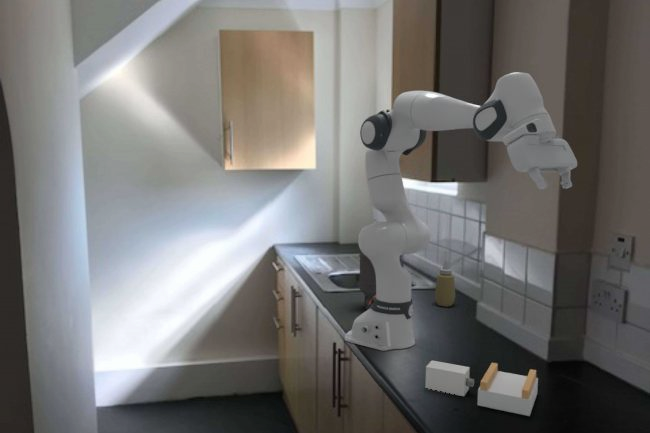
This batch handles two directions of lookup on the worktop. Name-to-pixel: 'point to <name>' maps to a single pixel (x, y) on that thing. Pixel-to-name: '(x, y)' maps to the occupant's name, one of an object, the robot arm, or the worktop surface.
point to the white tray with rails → (508, 391)
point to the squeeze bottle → (445, 286)
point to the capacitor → (367, 279)
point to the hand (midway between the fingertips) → (556, 187)
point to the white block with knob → (448, 378)
